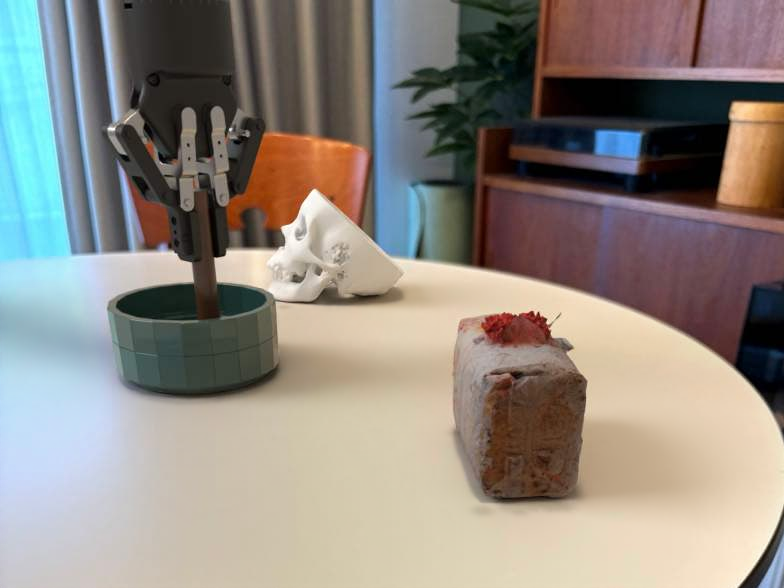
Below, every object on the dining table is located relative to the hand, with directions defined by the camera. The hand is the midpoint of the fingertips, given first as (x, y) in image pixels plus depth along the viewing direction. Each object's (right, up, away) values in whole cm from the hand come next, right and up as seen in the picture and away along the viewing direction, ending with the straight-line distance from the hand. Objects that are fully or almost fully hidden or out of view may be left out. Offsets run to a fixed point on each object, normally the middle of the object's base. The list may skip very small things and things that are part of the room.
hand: (202, 257), depth 65 cm
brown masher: (0, -7, +4) cm, 8 cm away
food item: (+23, -17, -8) cm, 30 cm away
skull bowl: (+8, +6, +30) cm, 31 cm away
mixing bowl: (-2, -8, +6) cm, 10 cm away
